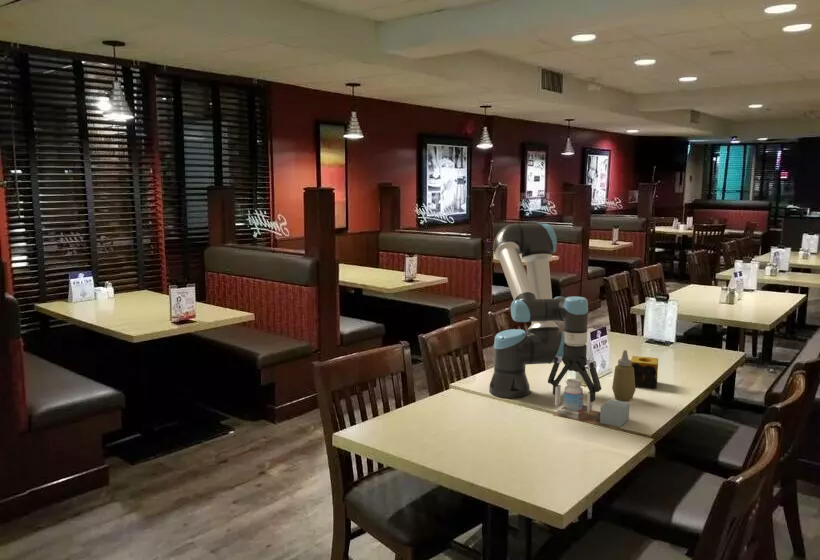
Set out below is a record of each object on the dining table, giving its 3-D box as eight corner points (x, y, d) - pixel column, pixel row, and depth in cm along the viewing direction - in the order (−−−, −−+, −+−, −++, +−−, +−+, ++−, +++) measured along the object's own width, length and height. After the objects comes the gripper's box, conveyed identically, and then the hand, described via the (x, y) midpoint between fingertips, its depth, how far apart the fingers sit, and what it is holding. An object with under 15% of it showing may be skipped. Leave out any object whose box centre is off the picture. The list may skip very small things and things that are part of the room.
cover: (599, 423, 209) (600, 407, 209) (609, 414, 217) (609, 399, 216) (620, 427, 206) (620, 411, 205) (628, 418, 213) (629, 402, 212)
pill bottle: (582, 416, 216) (583, 383, 214) (564, 415, 217) (564, 382, 215) (581, 410, 222) (582, 378, 220) (563, 409, 223) (564, 377, 221)
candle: (628, 386, 251) (629, 361, 249) (630, 379, 260) (631, 355, 259) (656, 389, 247) (657, 364, 246) (657, 382, 256) (658, 357, 255)
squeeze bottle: (636, 396, 239) (638, 349, 237) (633, 403, 232) (635, 354, 229) (613, 393, 243) (615, 347, 240) (610, 400, 235) (612, 352, 233)
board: (552, 419, 218) (552, 407, 217) (565, 409, 227) (566, 398, 227) (617, 433, 205) (618, 421, 204) (629, 421, 215) (629, 410, 214)
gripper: (538, 341, 219) (536, 404, 223) (605, 350, 206) (603, 417, 209) (547, 336, 225) (546, 398, 229) (613, 345, 212) (611, 410, 215)
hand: (573, 407), depth 219 cm, fingers open, 10 cm apart
